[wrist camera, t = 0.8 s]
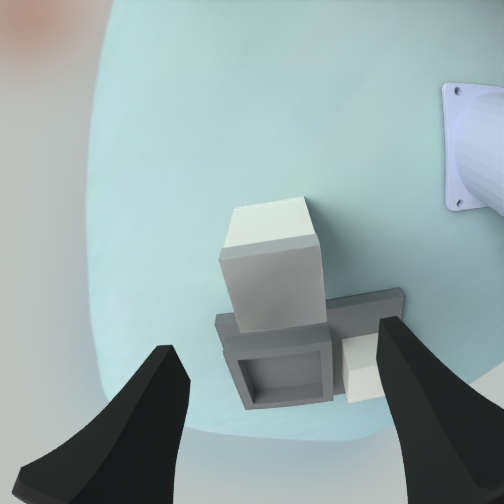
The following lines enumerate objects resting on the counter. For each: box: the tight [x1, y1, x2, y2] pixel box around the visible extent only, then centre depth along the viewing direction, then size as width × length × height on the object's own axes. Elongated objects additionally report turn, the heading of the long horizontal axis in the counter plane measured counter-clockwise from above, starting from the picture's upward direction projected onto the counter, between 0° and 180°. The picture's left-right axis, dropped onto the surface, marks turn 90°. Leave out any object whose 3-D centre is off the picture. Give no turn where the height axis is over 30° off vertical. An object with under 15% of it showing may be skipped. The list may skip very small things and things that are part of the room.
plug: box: [219, 196, 327, 333], centre depth 16 cm, size 4×4×6 cm
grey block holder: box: [215, 288, 404, 410], centre depth 22 cm, size 13×10×4 cm
